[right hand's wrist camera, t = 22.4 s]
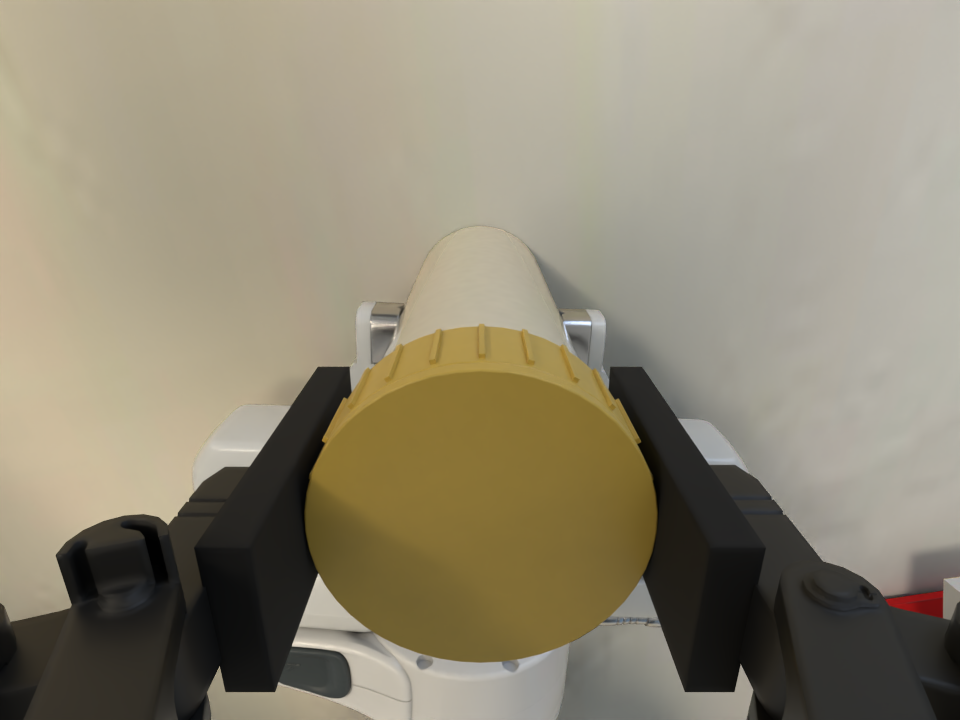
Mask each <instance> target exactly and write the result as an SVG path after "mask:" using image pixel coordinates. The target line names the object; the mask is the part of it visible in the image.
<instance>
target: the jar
mask: <svg viewBox="0 0 960 720" xmlns="http://www.w3.org/2000/svg"><path fill="white" fill-rule="evenodd" d="M479 324H485V326H488V327H503V328H508V329H513V330H518V331H522V329H526V330H528V333H530V334H533V335H536V336H539V337H542V338H544V339H546V340H548V341H551V342H553V343H555V344H557V345H559V346H561V345H562V344H563V345H565V346H567V349H568V351H569V352H570V353H572V354H573V355H575V356H576V357H578V358H579V356H578V354H577V352H576V349H575V347H574V345H573V343H572V340H571V338H570V336H569V334H568V331H567V329H566V327H565V324H564V322H563V320H562V318H561V315H560V313H559V311H558V308H557V306H556V304H555V302H554V299H553V297H552V295H551V292H550V290H549V288H548V286H547V283H546V281H545V279H544V277H543V274H542V272H541V270H540V267H539V265H538V263H537V261H536V259H535V257H534V255H533V254H532V252H531V251H530V250H529V248H528V247H527V246H526V245H525V244H524V243H523V242H522V241H521V240H519V239H518V238H517V237H515V236H514V235H512V234H510V233H508V232H506V231H504V230H501V229H498V228H494V227H487V226H474V227H467V228H463V229H460V230H457V231H455V232H453V233H451V234H449V235H447V236H446V237H444V238H443V239H442V240H440V241H439V242H438V243H437V244H436V245H435V246H434V247H433V248H432V250H431V251H430V252H429V254H428V255H427V257H426V259H425V261H424V263H423V265H422V267H421V270H420V272H419V274H418V277H417V279H416V281H415V284H414V286H413V288H412V291H411V293H410V295H409V298H408V300H407V302H406V305H405V307H404V309H403V311H402V314H401V316H400V318H399V321H398V323H397V325H396V328H395V330H394V332H393V335H392V337H391V339H390V342H389V344H388V346H387V349H386V351H385V353H384V356H383V358H384V357H386V356H387V355H389V354H390V353H392V352H393V351H395V349H396V346H397V345H399V344H402V346H403V345H405V344H407V343H409V342H412V341H414V340H416V339H418V338H420V337H423V336H426V335H429V334H433V333H435V331H436V329H440V328H441V330H442V331H443V330H449V329H454V328H460V327H475V326H479ZM383 358H382V359H383Z"/></svg>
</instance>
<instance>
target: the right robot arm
mask: <svg viewBox="0 0 960 720" xmlns="http://www.w3.org/2000/svg"><path fill="white" fill-rule="evenodd" d="M609 392H610V393H611V395H612V396H613V398H614V399H615V400H616V399H619V400H620V402H621V404H622V406H623V408H624V410H625V412H626V414H627V415H628V417H629V419H630V421H631V423H632V425H633V427H634V429H635V431H636V433H637V435H638V437H639V439H640V440H641V442H640V443H638V444H637V445H638V447H639V449H640V451H641V453H642V455H643V457H644V459H645V461H646V463H647V465H648V467H649V469H650V471H651V473H652V475H653V478H654V480H653V483H654V487H655V491H656V497H657V507H658V522H657V533H656V539H655V543H654V548H653V552H652V555H651V557H650V560H649V562H648V565H647V568H646V570H645V572H644V574H643V575H642V576H643V578H644V581H645V584H646V587H647V589H648V592H649V595H650V597H651V600H652V603H653V606H654V608H655V611H656V614H657V617H658V619H659V622H660V625H661V628H662V630H663V633H664V636H665V639H666V641H667V644H668V647H669V649H670V652H671V655H672V658H673V660H674V663H675V666H676V669H677V671H678V674H679V677H680V680H681V682H682V685H683V688H684V690H685V692H734V691H735V687H736V682H737V678H738V673H739V669H740V664H741V665H742V667H743V669H744V671H745V673H746V675H747V677H748V679H749V681H750V683H751V685H752V687H753V695H752V699H751V703H750V707H749V711H748V716H747V720H960V602H958V603H957V605H956V607H955V610H954V613H953V615H952V618H951V620H948V619H944V618H939V617H935V616H930V615H926V614H921V613H917V612H912V611H908V610H903V609H899V608H896V607H892V606H889V605H888V603H887V602H886V600H885V599H884V597H883V596H882V594H881V593H880V592H879V590H878V589H876V588H875V587H874V586H873V585H871V584H870V583H869V582H868V581H866V580H865V579H864V578H863V577H861V576H859V575H857V574H855V573H853V572H851V571H849V570H847V569H845V568H843V567H840V566H836V565H833V564H830V563H826V562H823V561H822V560H821V559H820V557H819V556H818V555H817V554H816V552H815V551H814V550H813V548H812V547H811V546H810V545H809V543H808V542H807V541H806V540H805V538H804V537H803V536H802V535H801V533H800V532H799V531H798V530H797V528H796V527H795V526H794V525H793V523H792V522H791V521H790V520H789V518H788V517H787V516H786V515H783V511H782V510H781V508H780V507H779V506H778V505H777V503H776V502H775V501H774V500H771V496H770V495H769V493H768V492H767V491H766V490H765V488H764V487H763V486H762V485H761V483H760V482H759V481H758V480H757V479H756V478H754V477H753V476H751V475H750V474H748V473H747V472H745V471H744V470H742V469H741V468H739V467H738V466H736V465H709V464H708V462H707V461H706V459H705V458H704V456H703V455H702V454H701V452H700V451H699V449H698V448H697V446H696V445H695V443H694V442H693V440H692V439H691V438H690V436H689V435H688V433H687V432H686V430H685V429H684V427H683V426H682V424H681V423H680V422H679V420H678V419H677V417H676V416H675V414H674V413H673V411H672V410H671V408H670V407H669V406H668V404H667V403H666V401H665V400H664V398H663V397H662V395H661V394H660V392H659V391H658V390H657V388H656V387H655V385H654V384H653V382H652V381H651V379H650V378H649V376H648V375H647V374H646V372H645V371H644V369H643V368H642V367H610V379H609ZM351 393H352V390H351V378H350V367H318V368H317V369H316V371H315V372H314V374H313V375H312V377H311V378H310V379H309V381H308V382H307V384H306V385H305V387H304V388H303V390H302V391H301V393H300V394H299V395H298V397H297V398H296V400H295V401H294V403H293V404H292V406H291V407H290V409H289V410H288V411H287V413H286V414H285V416H284V417H283V419H282V420H281V422H280V423H279V425H278V426H277V427H276V429H275V430H274V432H273V433H272V435H271V436H270V438H269V439H268V441H267V442H266V443H265V445H264V446H263V448H262V449H261V451H260V452H259V454H258V455H257V457H256V458H255V459H254V461H253V462H252V464H251V465H250V467H224V468H222V469H221V470H219V471H218V472H216V473H215V474H213V475H212V476H210V477H209V478H207V479H206V480H204V481H203V482H202V483H201V484H200V486H199V487H198V488H197V489H196V491H195V492H194V493H193V495H192V496H191V497H190V498H189V502H186V503H185V505H184V506H183V507H182V508H181V510H180V511H179V512H178V516H177V517H174V519H173V520H172V521H171V522H170V524H169V525H167V524H166V523H165V522H164V521H163V520H161V519H160V518H159V517H155V516H150V515H145V514H141V515H127V516H121V517H118V518H114V519H110V520H106V521H103V522H101V523H98V524H96V525H94V526H92V527H90V528H87V529H85V530H83V531H82V532H80V533H79V534H77V535H76V536H74V537H73V538H72V539H70V540H69V541H67V542H66V543H65V544H64V546H63V547H62V548H61V549H60V551H59V552H58V553H57V554H56V558H57V561H58V564H59V567H60V570H61V573H62V576H63V579H64V582H65V585H66V588H67V591H68V594H69V597H70V600H71V603H72V606H71V608H70V609H66V610H63V611H59V612H54V613H50V614H46V615H41V616H37V617H32V618H28V619H23V620H19V621H14V622H10V620H9V618H8V615H7V613H6V610H5V607H4V606H3V605H2V604H1V603H0V720H211V710H210V704H209V699H208V695H207V691H208V689H209V686H210V684H211V682H212V680H213V678H214V676H215V674H216V672H217V670H218V668H219V666H220V669H221V673H222V678H223V682H224V687H225V691H226V692H275V690H276V688H277V685H278V682H279V680H280V677H281V674H282V671H283V669H284V666H285V663H286V660H287V658H288V655H289V652H290V649H291V647H292V644H293V641H294V639H295V636H296V633H297V630H298V628H299V625H300V622H301V619H302V617H303V614H304V611H305V608H306V606H307V603H308V600H309V598H310V595H311V592H312V589H313V587H314V584H315V581H316V578H317V576H318V571H317V570H316V567H315V565H314V562H313V559H312V557H311V554H310V551H309V547H308V542H307V537H306V532H305V517H304V509H305V500H306V492H307V488H308V485H309V481H310V479H309V474H310V472H311V470H312V468H313V466H314V464H315V462H316V460H317V458H318V456H319V454H320V452H321V450H322V448H323V446H324V444H325V442H323V441H322V439H323V437H324V435H325V433H326V431H327V429H328V427H329V425H330V423H331V421H332V420H333V418H334V416H335V414H336V412H337V410H338V408H339V406H340V404H341V402H342V400H343V398H346V399H348V398H349V396H350V395H351Z"/></svg>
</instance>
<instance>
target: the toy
mask: <svg viewBox="0 0 960 720" xmlns="http://www.w3.org/2000/svg"><path fill="white" fill-rule="evenodd" d="M885 600H886V602H887V603H888V605H889V606H892V607H896V608H899V609H903V610H908V611H912V612H917V613H921V614H926V615H930V616H935V617H939V618H944V619H948V620H951V618H952V615H953V613H954V610H955V607H956V605H957V603H958V602H960V577H954V578H946V579H943V591H938V592H931V593H924V594H918V595H911V596H904V597H898V598H891V599H885Z"/></svg>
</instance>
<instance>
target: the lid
mask: <svg viewBox="0 0 960 720" xmlns="http://www.w3.org/2000/svg"><path fill="white" fill-rule="evenodd" d="M322 441H323V442H325V444H324V446H323V448H322V450H321V452H320V454H319V456H318V458H317V460H316V462H315V464H314V466H313V468H312V470H311V472H310V474H309V479H310V481H309V485H308V488H307V492H306V500H305V509H304V517H305V532H306V537H307V542H308V547H309V551H310V554H311V557H312V559H313V562H314V565H315V567H316V570H317V571H318V573H319V575H320V577H321V579H322V580H323V582H324V584H325V586H326V587H327V588H328V590H329V591H330V593H331V594H332V595H333V597H334V598H335V599H336V601H337V602H338V603H339V604H340V605H341V606H342V607H343V608H344V609H345V610H346V611H347V612H348V613H349V614H350V615H351V616H352V617H354V618H355V619H356V620H357V621H358V622H360V623H361V624H362V625H363V626H365V627H366V628H368V629H369V630H371V631H372V632H374V633H375V634H377V635H379V636H380V637H382V638H384V639H386V640H388V641H390V642H392V643H394V644H396V645H398V646H400V647H403V648H405V649H408V650H411V651H414V652H416V653H419V654H423V655H427V656H431V657H435V658H439V659H445V660H452V661H458V662H475V663H486V662H503V661H510V660H517V659H523V658H527V657H531V656H535V655H539V654H543V653H545V652H548V651H551V650H554V649H557V648H559V647H562V646H564V645H566V644H568V643H570V642H572V641H574V640H576V639H578V638H580V637H582V636H583V635H585V634H587V633H588V632H590V631H591V630H593V629H595V628H596V627H597V626H599V625H600V624H601V623H602V622H604V621H605V620H606V619H607V618H609V617H610V616H611V615H612V614H613V613H614V612H615V611H616V610H617V609H618V608H619V607H620V606H621V605H622V604H623V603H624V602H625V601H626V599H627V598H628V597H629V595H630V594H631V593H632V591H633V590H634V589H635V587H636V586H637V584H638V582H639V581H640V579H641V577H642V575H643V574H644V572H645V570H646V568H647V565H648V562H649V560H650V557H651V555H652V552H653V548H654V543H655V539H656V533H657V522H658V507H657V497H656V491H655V487H654V483H653V480H654V478H653V475H652V473H651V471H650V469H649V467H648V465H647V463H646V461H645V459H644V457H643V455H642V453H641V451H640V449H639V447H638V445H637V444H638V443H640V442H641V440H640V439H639V437H638V435H637V433H636V431H635V429H634V427H633V425H632V423H631V421H630V419H629V417H628V415H627V414H626V412H625V410H624V408H623V406H622V404H621V402H620V400H619V399H616V400H615V399H614V398H613V396H612V395H611V393H610V392H609V390H608V388H607V387H606V385H605V384H604V382H603V380H602V378H601V376H600V374H599V372H598V370H597V369H596V368H594V369H593V370H592V369H591V368H589V367H588V366H587V365H586V364H585V363H584V362H583V361H581V360H580V359H579V358H578V357H576V356H575V355H573V354H572V353H570V352H569V351H568V349H567V346H565V345H563V344H562V345H561V346H559V345H557V344H555V343H553V342H551V341H548V340H546V339H544V338H542V337H539V336H536V335H533V334H530V333H528V330H526V329H522V331H518V330H513V329H508V328H503V327H488V326H485V324H479V326H475V327H460V328H454V329H449V330H443V331H442V330H441V328H440V329H436V331H435V333H433V334H429V335H426V336H423V337H420V338H418V339H416V340H414V341H412V342H409V343H407V344H405V345H403V346H402V344H399V345H397V346H396V349H395V351H393V352H392V353H390V354H389V355H387V356H386V357H384V358H383V359H382V360H381V361H380V362H378V363H377V364H376V365H375V366H374V367H372V368H371V369H369V368H368V367H367V368H366V369H365V371H364V373H363V375H362V377H361V379H360V381H359V383H358V384H357V385H356V387H355V388H354V390H353V392H352V393H351V395H350V396H349V398H348V399H346V398H343V400H342V402H341V404H340V406H339V408H338V410H337V412H336V414H335V416H334V418H333V420H332V421H331V423H330V425H329V427H328V429H327V431H326V433H325V435H324V437H323V439H322Z"/></svg>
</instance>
